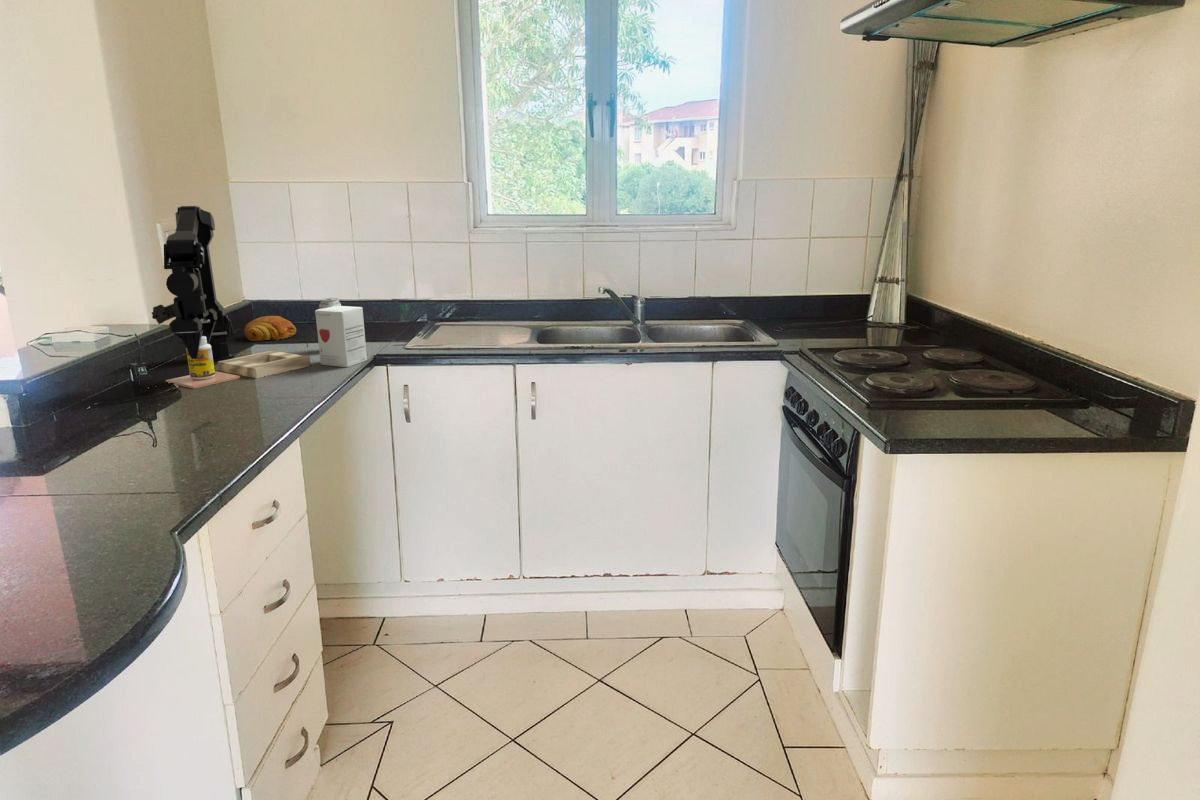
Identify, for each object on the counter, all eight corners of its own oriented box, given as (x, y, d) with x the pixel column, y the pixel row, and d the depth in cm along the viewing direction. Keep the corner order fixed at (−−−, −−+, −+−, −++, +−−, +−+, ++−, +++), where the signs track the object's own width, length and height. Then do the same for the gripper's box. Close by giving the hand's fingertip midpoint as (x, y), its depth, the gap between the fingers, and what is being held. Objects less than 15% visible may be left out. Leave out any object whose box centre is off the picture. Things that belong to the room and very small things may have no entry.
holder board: (219, 371, 200) (218, 361, 199) (273, 359, 213) (272, 350, 212) (257, 378, 192) (255, 368, 191) (310, 365, 205) (309, 356, 204)
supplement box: (319, 365, 205) (313, 309, 201) (341, 358, 213) (335, 304, 209) (347, 367, 202) (341, 311, 198) (368, 360, 210) (363, 306, 206)
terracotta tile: (166, 382, 188) (165, 380, 188) (212, 372, 198) (211, 370, 198) (194, 388, 182) (193, 386, 182) (240, 378, 192) (239, 375, 192)
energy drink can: (328, 353, 220) (323, 301, 216) (320, 350, 224) (315, 299, 220) (349, 350, 224) (343, 299, 220) (340, 347, 228) (335, 297, 224)
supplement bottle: (186, 380, 187) (180, 339, 185) (196, 375, 193) (190, 335, 190) (209, 380, 188) (203, 339, 185) (219, 374, 193) (213, 335, 190)
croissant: (238, 347, 241) (231, 323, 238) (271, 331, 254) (265, 308, 251) (276, 348, 236) (269, 324, 233) (308, 332, 250) (302, 309, 247)
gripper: (165, 288, 191) (175, 349, 195) (139, 298, 174) (151, 365, 178) (213, 286, 194) (222, 346, 198) (192, 296, 176) (202, 362, 180)
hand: (199, 354), depth 188 cm, fingers open, 9 cm apart
